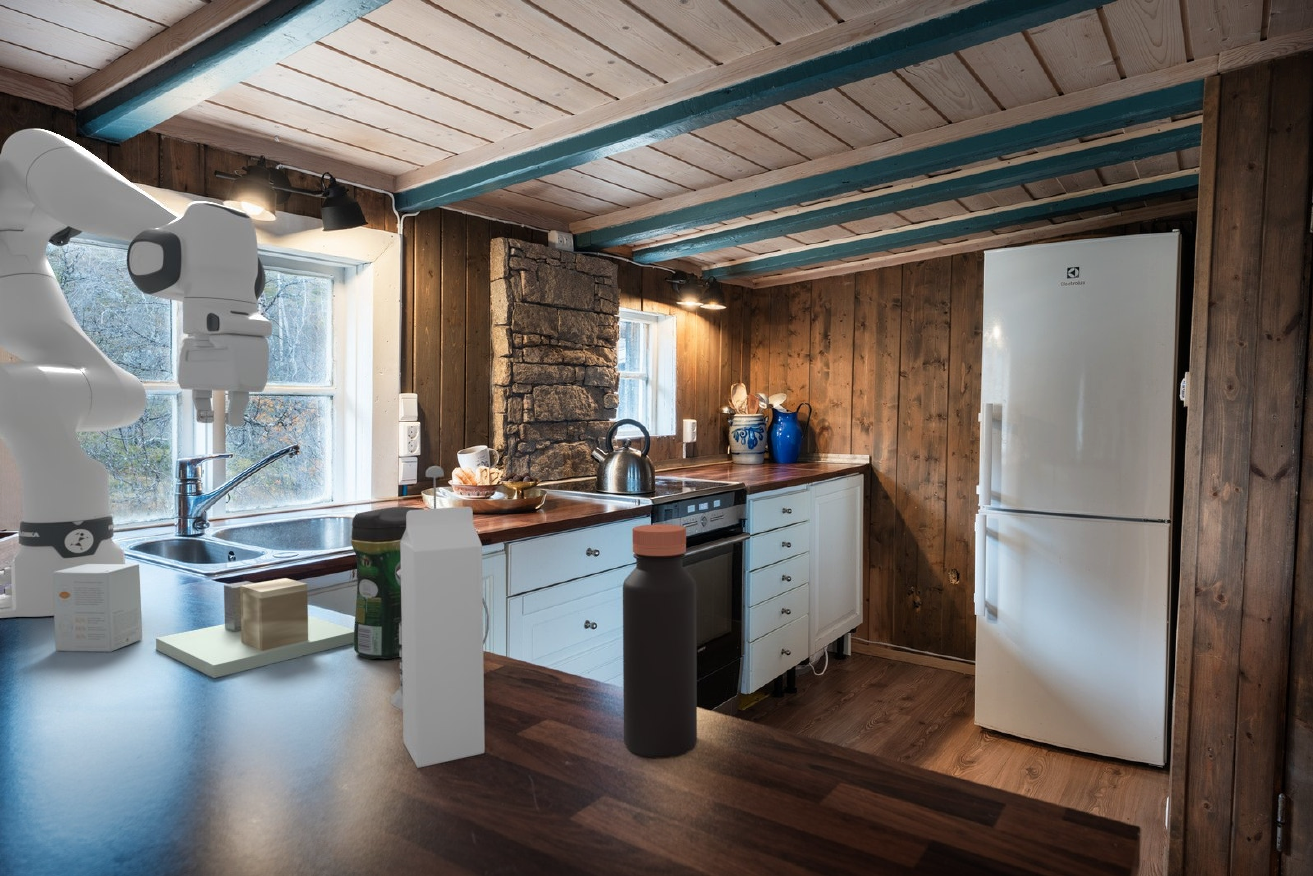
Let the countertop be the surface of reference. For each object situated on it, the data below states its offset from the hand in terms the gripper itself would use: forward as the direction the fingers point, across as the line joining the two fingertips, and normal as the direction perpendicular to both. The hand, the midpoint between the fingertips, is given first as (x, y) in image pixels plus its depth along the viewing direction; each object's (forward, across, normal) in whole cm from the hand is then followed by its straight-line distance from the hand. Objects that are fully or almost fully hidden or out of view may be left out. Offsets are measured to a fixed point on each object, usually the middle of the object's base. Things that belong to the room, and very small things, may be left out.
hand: (219, 424), depth 106 cm
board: (+29, +10, +1) cm, 31 cm away
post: (+29, +5, +1) cm, 30 cm away
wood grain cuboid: (+27, +15, +1) cm, 31 cm away
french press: (+28, +45, +5) cm, 53 cm away
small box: (+30, -7, -12) cm, 33 cm away
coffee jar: (+28, +26, +11) cm, 40 cm away
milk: (+27, +56, -3) cm, 62 cm away
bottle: (+26, +71, +10) cm, 76 cm away
